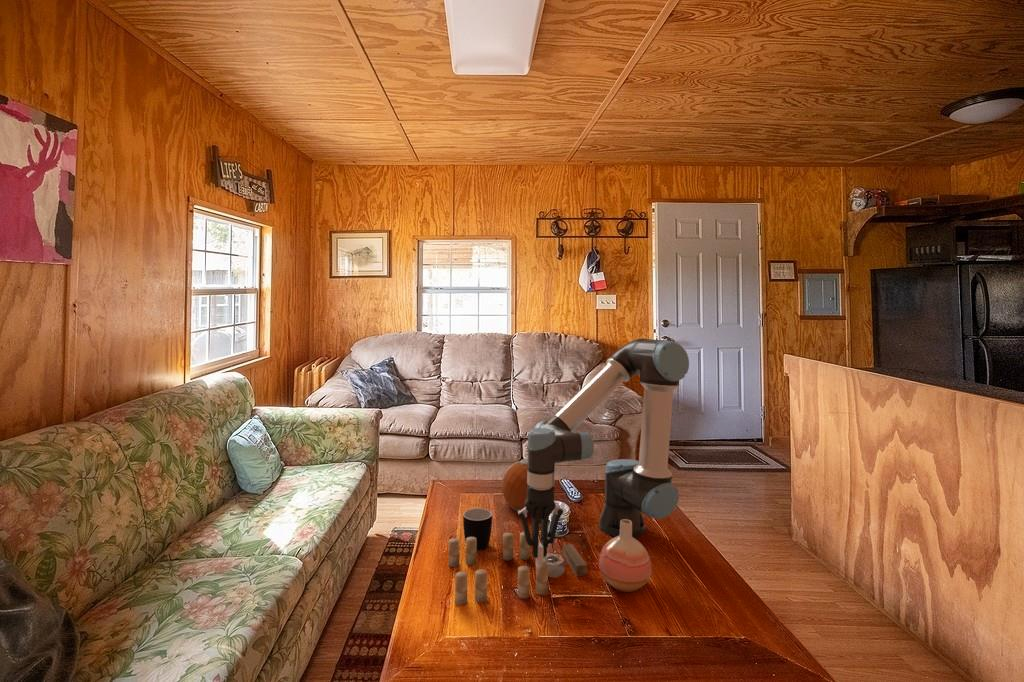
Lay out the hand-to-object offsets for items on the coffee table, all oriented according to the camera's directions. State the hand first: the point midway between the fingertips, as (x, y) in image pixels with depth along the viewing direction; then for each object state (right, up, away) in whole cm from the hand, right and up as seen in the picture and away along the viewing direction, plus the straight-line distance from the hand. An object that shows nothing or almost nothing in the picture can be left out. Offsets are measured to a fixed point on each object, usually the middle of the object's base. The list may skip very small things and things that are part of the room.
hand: (539, 567), depth 134 cm
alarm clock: (-2, +1, +46) cm, 46 cm away
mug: (-19, 0, +16) cm, 25 cm away
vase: (+23, -2, -5) cm, 23 cm away
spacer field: (-12, -1, -3) cm, 12 cm away
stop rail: (+10, -1, +5) cm, 11 cm away
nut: (+4, -1, +1) cm, 4 cm away
